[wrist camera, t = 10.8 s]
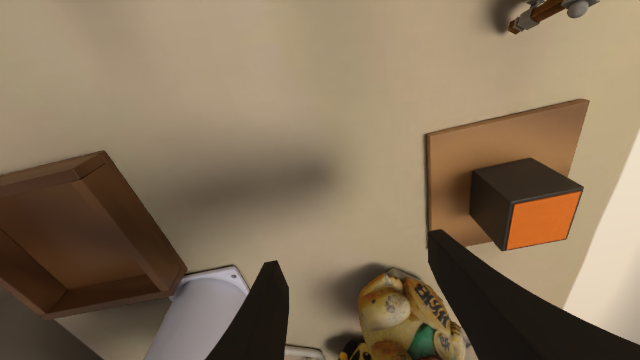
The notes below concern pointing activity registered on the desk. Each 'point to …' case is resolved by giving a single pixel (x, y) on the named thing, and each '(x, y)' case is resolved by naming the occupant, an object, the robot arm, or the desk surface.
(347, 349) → the toy
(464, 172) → the cork mat
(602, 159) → the desk surface
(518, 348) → the robot arm
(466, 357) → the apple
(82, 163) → the walnut box
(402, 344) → the decorative figurine
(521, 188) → the puzzle cube
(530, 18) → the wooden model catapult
